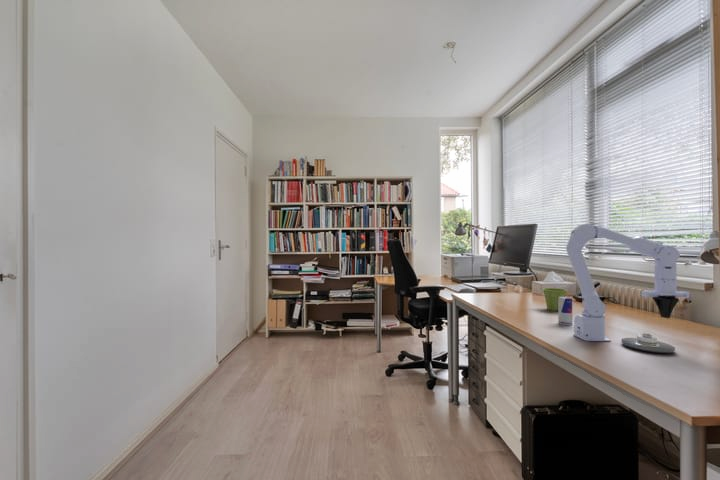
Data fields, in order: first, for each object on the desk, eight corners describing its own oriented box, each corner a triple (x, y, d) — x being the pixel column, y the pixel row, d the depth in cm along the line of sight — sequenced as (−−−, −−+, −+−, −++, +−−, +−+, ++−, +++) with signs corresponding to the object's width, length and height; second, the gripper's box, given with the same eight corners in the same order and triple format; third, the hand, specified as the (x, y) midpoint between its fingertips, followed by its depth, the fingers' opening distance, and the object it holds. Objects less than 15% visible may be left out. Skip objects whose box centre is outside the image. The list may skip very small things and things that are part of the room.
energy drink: (572, 326, 143) (572, 298, 143) (558, 324, 146) (558, 297, 146) (572, 323, 148) (572, 297, 148) (558, 321, 150) (558, 296, 150)
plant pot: (567, 309, 179) (567, 288, 179) (567, 313, 169) (567, 291, 169) (542, 306, 185) (542, 287, 185) (541, 310, 175) (541, 289, 175)
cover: (645, 346, 111) (645, 336, 111) (633, 341, 116) (633, 332, 116) (661, 346, 111) (661, 336, 111) (648, 341, 116) (648, 332, 116)
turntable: (642, 354, 107) (642, 350, 107) (611, 341, 121) (611, 337, 121) (687, 355, 106) (687, 350, 106) (650, 342, 120) (650, 338, 120)
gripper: (653, 280, 112) (653, 319, 112) (697, 280, 111) (697, 320, 111) (637, 277, 119) (637, 315, 119) (678, 278, 118) (678, 315, 118)
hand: (665, 317), depth 115 cm, fingers closed
